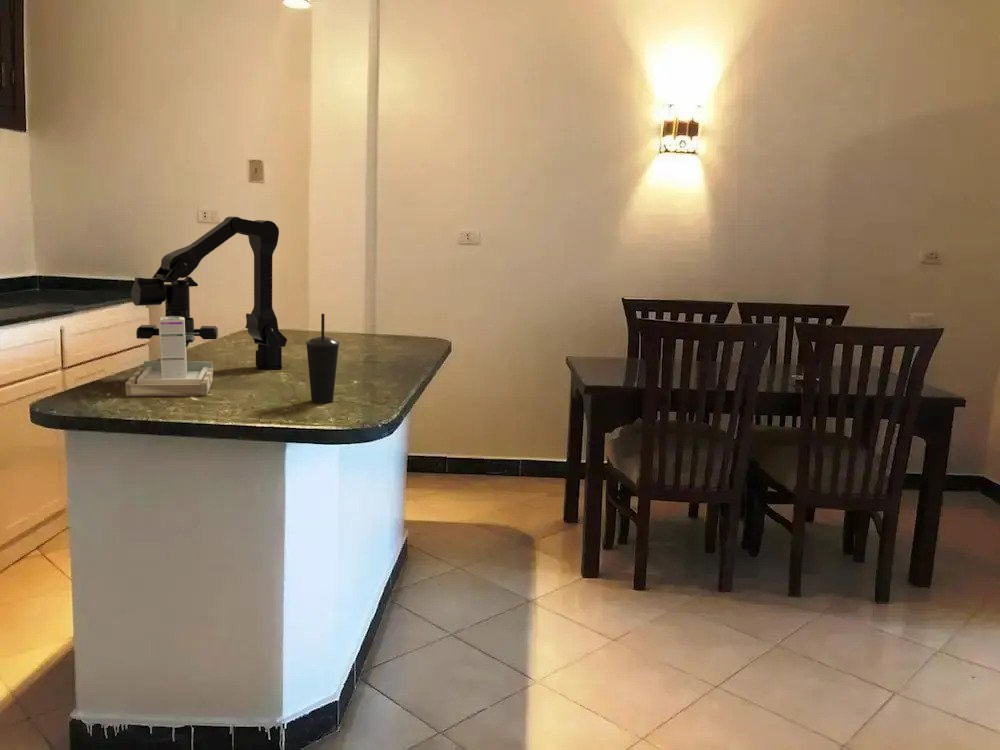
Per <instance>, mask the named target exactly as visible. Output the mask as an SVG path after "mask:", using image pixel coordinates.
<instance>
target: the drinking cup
mask: <svg viewBox="0 0 1000 750" xmlns="http://www.w3.org/2000/svg"><path fill="white" fill-rule="evenodd" d="M320 315H321V316H320V317H321V320H320V321H321V322H320V323H321V327H320V328H321V331H320V332H321V335H320V336H316V337H312V338H310V339H308V340H306V341H305V343H304V344H305V346H306V352H307V364H308V365H307V366H308V373H309V374H308V377H309V378H308V379H309V387H310V388H309V389H310V398H311V399H310V400H311V402H312V403H314V404H329V403H333V402H334V397H335V396H334V395H335V384H336V374H337V365H338V355H339V347H340V345H341V342H340V341H339V340H336V339H334V338H332V337H330V336H325V313H321V314H320Z"/></svg>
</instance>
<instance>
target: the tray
mask: <svg viewBox="0 0 1000 750" xmlns="http://www.w3.org/2000/svg"><path fill="white" fill-rule="evenodd" d="M143 368H144V372H143V373H142V374H141V375H140V376H139V378H138V379H137V384H202V381H203V379H204V377H205V375H206V373H207V371H208V369H209V368H213V361H211V360H203V361H202V360H201V361H200V360H199V361H198V360H193V361H192V360H187V378H186V379H161V362H160V360H144V361H143Z"/></svg>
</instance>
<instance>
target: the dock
mask: <svg viewBox="0 0 1000 750" xmlns="http://www.w3.org/2000/svg"><path fill="white" fill-rule="evenodd" d="M143 372H144V367H141V368H138V369H137V370H136V371H135V372H134V373H133V374H132V375H131V377H130V378H129V379H128V380H127V381H126V382H125V397H205V396H206V397H207V396H208V394H209V391H210V388H211V386H212V383H213V382H214V368H213V367H212V368H209V369H208V371H207V373H206V375H205V377H204V379H203V381H202V384H137V379H138V378H139V376H140V375H141V374H142V373H143Z"/></svg>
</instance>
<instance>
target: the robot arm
mask: <svg viewBox="0 0 1000 750" xmlns="http://www.w3.org/2000/svg"><path fill="white" fill-rule="evenodd" d="M237 234H239V235H243V236H248V237H247V238H248V244H249V246H250V248H251V250H252V252H253V309H252V311H251V312H250V313H248V312H247V313H246V314H245V319H246V322H245V323H246V325H245V327H244V328H245V329H247V333H248V335H250V337H251V338H252V340H253V342H254V344H256V345H257V349H256V350H255V366H256V368H257V369H258V370H282V369H283V360H282V359H283V354H282V352H283V351H282V349H283V347H286V345H287V341H288V338H287V337H286V336H284V334H282V332H281V331H280V329H279V324H278V318H277V316H276V314H275V312H274V309H273V254H274V252H275V251H276V248H277V246H278V242H279V237H280V228H279V226H278V225H277V224H276V223H275V222H273V220H263V219H256V220H250V219H245V218H241V217H239V216H227V217H225V218H224V219H223V220H222V221H221V222H219V224H217V225H216V226H214V227H212V228H211V229H210V230H208V231H207V232H206V233H205V234H203V235H202V236H200V237H198V238H197V239H196V240H195V241H194V242H192V243H191V244H189V245H187V246H184V247H180V248H178V249H175V250H174V251H172V252H170V253H167V254H165V255H164V256H163V257H162V258H161V261H160V266H159V268H158V269H157V270H156V272H155V273H154V274H153V276H152V277H140V276H139V277H134V283H133V285H132V286H131V287H132V288H131V291H130V296H131V301H132V303H133V305H134V306H135V307H138V306H143V307H144V306H147V307H148V306H161V305H162V304H163V303H164V307H165V309H164V310H165V312H164V313H165V315H164V317H170V316H177V317H184V319H185V335H186V350H187V349H188V346H189V345H190V343H193V342H194V341H195V339H196V338H195V337H200V338H202V340H217V339H218V337H219V328H218V327H217V326H216V325H201V326H200V328H195V321H194V317H191V310H190V309H191V302H190V298H191V297H190V294H191V293H190V288H191V287H192V288H193V287H198V286H199V284H198V283H197V282H196V281H195V280H194V278H192V277H191V276H190V275H191V274H193V272H194V271H195V270H196V269H197V268H198V266H199V265H200V263H201V261H202V260H203V259H204V258H205V257H206V256H207V255H209V254H211V253H212V252H213V251H214V250H216V249H217V248H218V247H220V246H222V245H223V244H224V243H225V242H227V241H228V240H229V239H231V238H232V237H234V236H235V235H237ZM154 336H157V337H159V327H158V328H157V324H141V325H140V326H138V327H137V328H136V339H139V340H140V339H142V340H148V339H149V340H150V339H151V338H152V337H154Z"/></svg>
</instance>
